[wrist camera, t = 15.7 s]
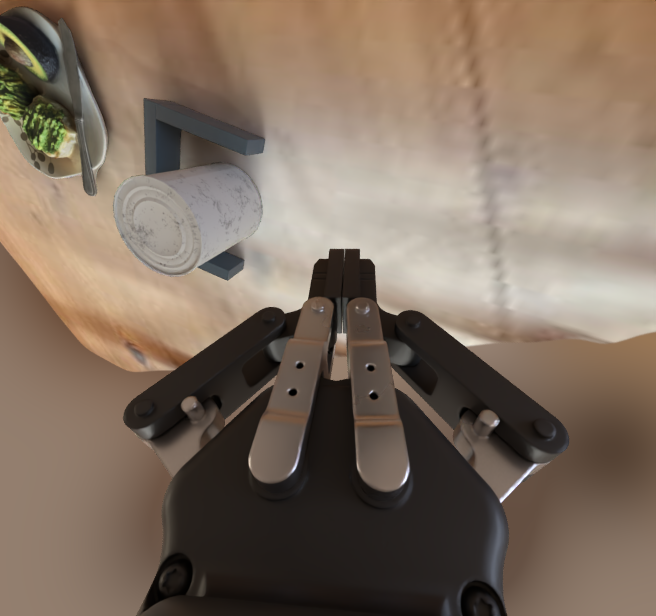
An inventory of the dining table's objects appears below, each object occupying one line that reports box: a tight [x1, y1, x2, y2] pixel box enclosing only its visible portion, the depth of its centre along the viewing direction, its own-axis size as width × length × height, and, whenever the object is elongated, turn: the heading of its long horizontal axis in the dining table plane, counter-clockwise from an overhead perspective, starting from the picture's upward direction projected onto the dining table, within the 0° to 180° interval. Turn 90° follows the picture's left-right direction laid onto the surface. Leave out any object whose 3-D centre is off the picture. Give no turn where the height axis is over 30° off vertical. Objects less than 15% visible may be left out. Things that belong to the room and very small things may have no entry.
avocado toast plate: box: [0, 7, 108, 196], centre depth 38 cm, size 19×18×5 cm
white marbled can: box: [113, 162, 262, 277], centre depth 34 cm, size 10×10×12 cm
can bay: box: [144, 98, 265, 281], centre depth 38 cm, size 12×17×4 cm
